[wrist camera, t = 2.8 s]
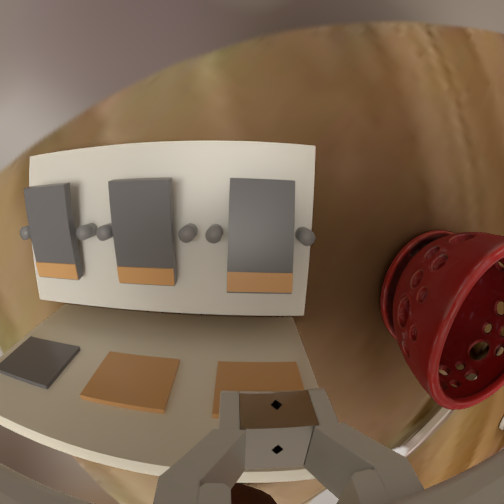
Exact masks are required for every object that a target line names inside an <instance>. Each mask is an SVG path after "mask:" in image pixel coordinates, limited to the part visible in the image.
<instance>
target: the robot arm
mask: <svg viewBox="0 0 504 504" xmlns="http://www.w3.org/2000/svg"><path fill="white" fill-rule="evenodd" d="M294 466H304V468H305V469H306V470H308V471H309V472H310V473H311V474H312V475H313V476H314V477H315V478H316V479H317V480H318V481H319V482H320V483H321V484H323V485H324V486H325V487H326V488H327V489H328V490H329V491H330V492H332V493H333V494H334V495H335V496H336V497H337V498H338V499H339V501H338V502H337V504H504V449H502V450H501V451H499V452H497V453H496V454H494V455H493V456H491V457H489V458H487V459H486V460H484V461H482V462H481V463H479V464H477V465H475V466H473V467H471V468H469V469H468V470H466V471H464V472H462V473H460V474H458V475H456V476H454V477H452V478H449V479H447V480H445V481H443V482H441V483H438V484H436V485H434V486H431V487H429V488H426V489H424V488H423V486H422V484H421V482H420V480H419V479H418V477H417V475H416V473H415V472H414V470H413V468H412V466H411V464H410V463H409V461H408V459H407V458H406V457H404V456H402V455H400V454H398V453H396V452H395V451H393V450H391V449H389V448H387V447H385V446H384V445H382V444H380V443H378V442H376V441H375V440H373V439H371V438H369V437H368V436H366V435H364V434H362V433H361V432H359V431H357V430H356V429H354V428H352V427H351V426H349V425H347V424H346V423H339V421H338V419H337V417H336V414H335V412H334V409H333V407H332V405H331V402H330V400H329V398H328V395H327V393H326V391H325V389H324V388H315V389H306V390H294V391H239V392H238V391H221V393H220V408H219V426H218V429H213V430H212V431H210V432H209V433H208V434H207V435H206V436H205V437H204V438H203V439H202V440H201V441H200V442H199V443H197V444H196V445H195V446H194V447H193V448H192V449H191V450H190V451H188V452H187V453H186V454H185V455H184V456H183V457H182V458H180V459H179V460H178V461H177V462H176V463H175V464H173V465H172V466H171V467H170V468H169V469H168V470H166V471H165V472H164V473H163V474H162V475H160V476H159V479H158V483H157V488H156V492H155V497H154V502H153V504H231V489H232V487H233V486H234V485H235V483H236V482H237V481H238V479H239V478H240V476H241V475H242V474H243V472H244V471H245V469H258V468H274V467H294ZM0 504H95V503H91V502H88V501H85V500H82V499H79V498H76V497H73V496H71V495H68V494H65V493H63V492H60V491H57V490H55V489H53V488H50V487H48V486H45V485H43V484H41V483H38V482H36V481H34V480H32V479H30V478H28V477H26V476H24V475H22V474H20V473H18V472H16V471H14V470H12V469H10V468H8V467H6V466H5V465H3V464H1V463H0Z"/></svg>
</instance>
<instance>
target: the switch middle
mask: <svg viewBox="0 0 504 504" xmlns="http://www.w3.org/2000/svg"><path fill="white" fill-rule="evenodd" d="M108 188H109V201H110V212H111V222H112V231H113V239H114V247H115V254H116V261H117V272H118V278H119V283H125V284H142V285H161V286H175V285H176V282H177V271H176V257H175V240H174V220H173V190H172V177H167V178H132V179H113V180H111V181H108Z"/></svg>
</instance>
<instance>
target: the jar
mask: <svg viewBox="0 0 504 504" xmlns="http://www.w3.org/2000/svg"><path fill="white" fill-rule="evenodd" d="M499 428H500V429H501V430H504V417H503V418H502V420H501V422H500V425H499Z"/></svg>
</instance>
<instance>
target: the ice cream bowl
mask: <svg viewBox="0 0 504 504" xmlns="http://www.w3.org/2000/svg"><path fill="white" fill-rule="evenodd" d="M231 504H277V503H276V502H275V501H274V499H273V498H272V497H271V496H270V495H269V494H267V493H265V492H263V491H261V490H258V489H255V488H252V487H249V486H246V485H243V484H242V483H235V485H234V486H233V487H232V489H231Z"/></svg>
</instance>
